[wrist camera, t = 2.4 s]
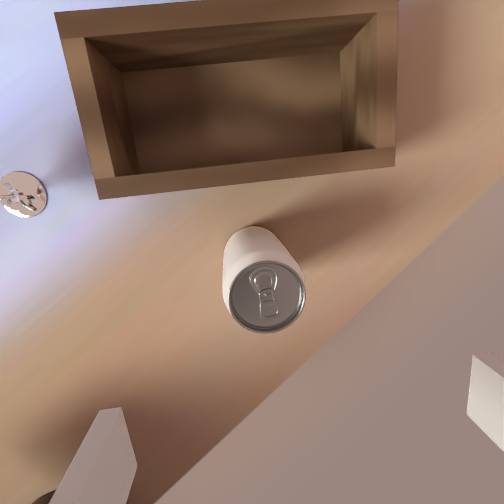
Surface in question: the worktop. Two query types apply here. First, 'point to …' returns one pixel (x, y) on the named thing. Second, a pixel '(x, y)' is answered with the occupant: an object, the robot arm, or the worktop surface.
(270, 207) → the worktop surface
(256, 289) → the can
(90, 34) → the narrow open box
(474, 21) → the worktop surface
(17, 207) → the wineglass
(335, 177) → the worktop surface
